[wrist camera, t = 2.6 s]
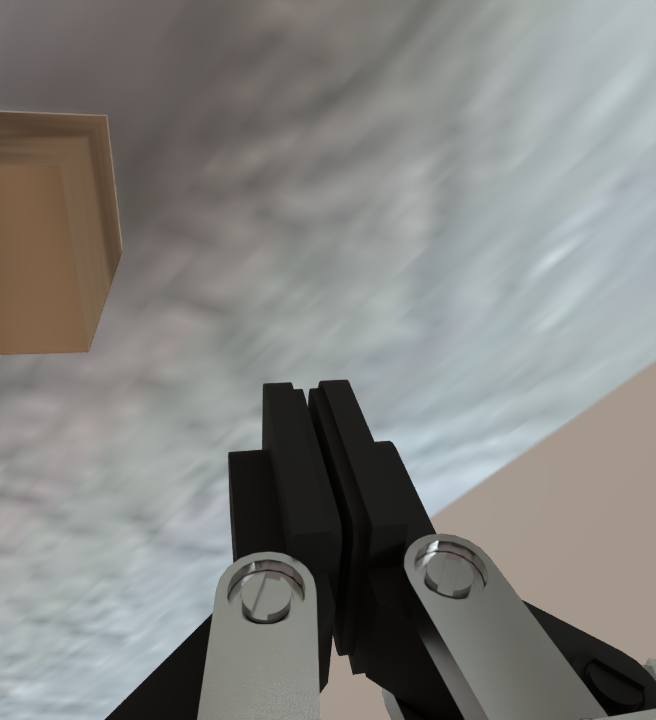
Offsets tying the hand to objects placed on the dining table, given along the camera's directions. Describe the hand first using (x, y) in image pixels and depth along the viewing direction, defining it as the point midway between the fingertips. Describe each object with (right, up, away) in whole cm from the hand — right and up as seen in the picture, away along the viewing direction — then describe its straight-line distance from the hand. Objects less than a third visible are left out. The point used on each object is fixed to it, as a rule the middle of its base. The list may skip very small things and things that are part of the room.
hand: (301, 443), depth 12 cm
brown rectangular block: (-12, +9, +14) cm, 21 cm away
